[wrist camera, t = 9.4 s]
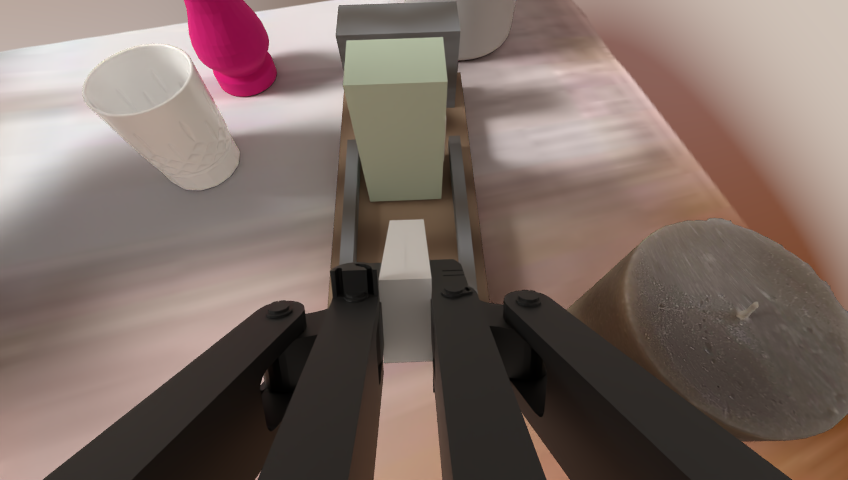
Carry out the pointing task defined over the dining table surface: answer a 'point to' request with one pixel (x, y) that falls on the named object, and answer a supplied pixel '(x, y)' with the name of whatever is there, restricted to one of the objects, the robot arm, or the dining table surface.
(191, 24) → the pink bowling pin
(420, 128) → the block
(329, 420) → the robot arm
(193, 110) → the white cup
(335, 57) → the dining table surface
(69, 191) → the dining table surface
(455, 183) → the press bench
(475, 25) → the cylinder vase
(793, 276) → the pillar candle
